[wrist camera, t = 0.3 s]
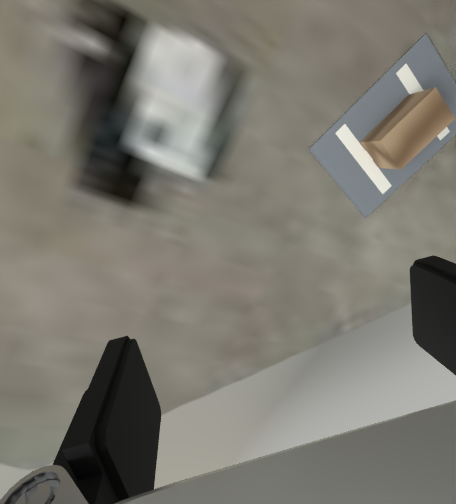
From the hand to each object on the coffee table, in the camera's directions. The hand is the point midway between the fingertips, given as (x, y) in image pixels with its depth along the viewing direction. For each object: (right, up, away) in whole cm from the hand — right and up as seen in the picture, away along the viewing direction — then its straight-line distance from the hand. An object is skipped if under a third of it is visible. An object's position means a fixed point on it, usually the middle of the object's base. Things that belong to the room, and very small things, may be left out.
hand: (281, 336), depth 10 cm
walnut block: (+22, +20, +35) cm, 46 cm away
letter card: (+22, +20, +35) cm, 46 cm away
